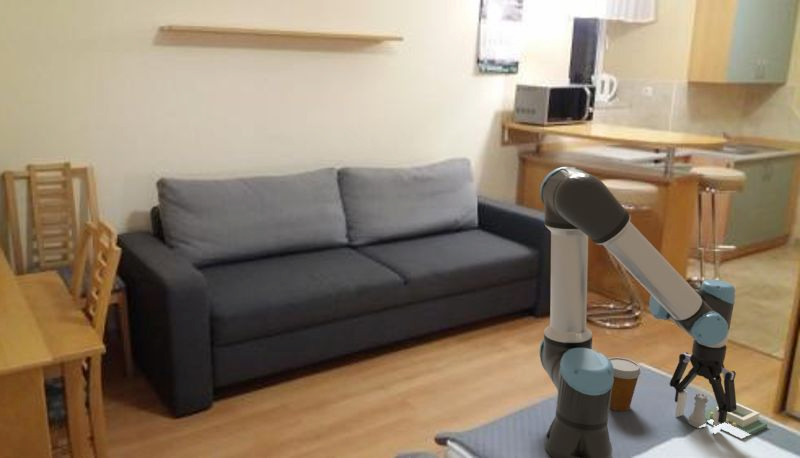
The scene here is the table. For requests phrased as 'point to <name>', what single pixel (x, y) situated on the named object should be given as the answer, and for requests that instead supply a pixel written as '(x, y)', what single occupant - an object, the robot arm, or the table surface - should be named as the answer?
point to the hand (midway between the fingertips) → (697, 423)
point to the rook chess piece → (698, 411)
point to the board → (741, 419)
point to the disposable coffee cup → (623, 382)
